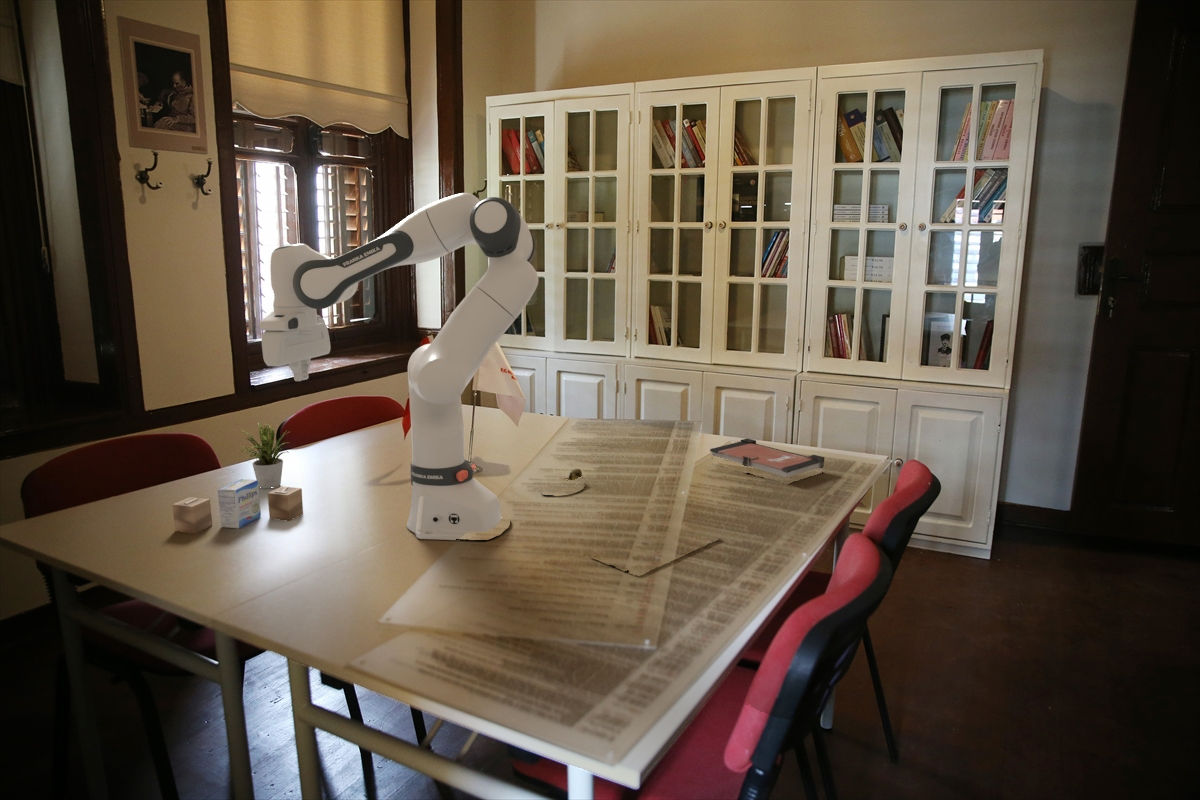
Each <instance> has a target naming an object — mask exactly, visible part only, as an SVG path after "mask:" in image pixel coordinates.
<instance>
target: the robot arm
mask: <svg viewBox="0 0 1200 800" xmlns="http://www.w3.org/2000/svg"><path fill="white" fill-rule="evenodd" d="M468 245H475V246H478V247H479V248H480V250H481V251H482V252H483V254H484V256H486V257H487V258H488V266H487V269H486V271H485V272H484V274H483V276H481V277H480V279H479V280H477V281H478V282H476V283H475V285H474V286H473V287H472V288H471V289H470V290H469V292H468V293H467V294H466V295H465V296H464V297H463V299H462V300H461V301H460V302H459V304H458V305H457V306H456V307H455V308H454V310H453V311H452V312H451V313H450V315H449V317H448V319H447V320H446V322H444V324H443V326H442V328H441V329H440V330H439V331H438V333H437V335H436V336H435V338H434V339H433V340H432V342H431V343H427V344H426V343H425V344H423V345H422V346H420V347H418V348H416V349H415V350H414V352H412V354H411V355H410V357H409V360H408V362H407V363H408V364H407V380H408V381H407V382H408V383H407V384H408V398H409V413H410V414H409V415H410V427H411V428H410V429H411V430H410V432H411V456H412V457H411V458H412V459H411V461H410V484H411V485H410V486H411V487H412V490H411V504H410V507H409V508H410V509H409V515H408V517H407V518H408V519H407V522H406V528H407V529H408V530H409V531H410V532H412V533H414V534H415V536H416V538H417V539H420V540H439V541H441V540H443V541H444V540H447V541H457V540H456V539H458V538H460V537H462V536H464V534H466V533H470V532H471V533H472V532H487V531H489V530H491V529H493V528H494V527H496V526H497V525H498V524H499V523H500V521H501V519H502V517H501V514H502V510H501V506H500V501H499V498H498V496H497V495H496V494H495V493H493V492H492V491H491V490H489V489H488V488H487V487H486V486H484V485H483V484H482V483H480V481H478V480H477V479H476V478H475V477H474V475H473V474H474V472H473V471H475V469H476V463H473V464H472V465H470V464H469V463H468V462H467V460H466V459H465V424H464V417H463V408H462V407H463V404H462V394H463V393H464V391H465V389H466V387H467V386H468V384H470V382H471V380H472V379H473V378H474V376H475V374H476V373H477V372H478V370H479V369H480V367H481V365H482V364H483V362H484V361H485V359H486V357H487V356H488V354H490V351H492V348H494V346H495V345H496V343H497V342H498V341H499V340H500V339H501V337H503V335H504V334H505V333H506V331H507V330H508V329H509V328H510V327H511V325H512V324H513V323H514V322H515V321H516V319H517V318H518V317H519V316H520V315H521V313H522V312H523V310H524V309H525V308H526V306H527V305H528V303H529V302H530V300H531V299H532V297H533V295H534V293H535V291H536V290H537V288H538V286H539V276H538V273H537V270H536V269H535V267H534V266H533V265H532V261H533V259H534V256H535V253H536V245H535V239H534V236H533V235H532V233H531V232H530V230H529V226H528V224H527V222H526V220H525V219H524V217H523V216H522V214H521V213H519V211H518V209H517V207H516V206H515V205H513V203H511V202H510V201H508V200H506V199H504V198H501V197H496V196H494V197H493V196H490V197H487V198H484V199H481V200H480V199H479V198H478V197H477V196H476V195H474V194H472V193H469V192H461V193H456V194H453V195H450V196H447V197H443V198H442V199H437V200H436V201H433V202H432V203H429V204H427V205H425V206H423V207H421V208H419V209H417V210H415V211H414V212H413V213H410V214H409V215H407V216H406V217H405V218H403V219H402V220H401V221H400V222H398V223H397V224H395V225H394V226H392V227H391V228H390V229H389V230H387V231H385V233H382V234H381V235H380V236H378V237H376V238H375V239H373V240H371V241H370V242H367V243H365V244H363V245H361V246H358V247H357V248H354V249H352V250H350V251H348V252H345V253H344V254H341V255H339V256H337V257H331V256H328V255H326V254H323V253H321V252H318V251H317V250H314V249H312V247H310V246H309V245H307V244H306V243H295V244H287V245H283V246H279V247H276V248H275V249H274V250H273V251H272V252H271V257H270V265H269V267H270V283H271V289H272V291H273V296H274V297H273V304H272V305H273V306H272V307H273V311H271V312H270V313H269V314H268V315H267V316H266V317H264V318H263V319H261V320H260V322H259V328H260V331H262V332H263V333H262V334H261V349H262V358H263V361H264V363H265V365H266V366H267V367H282V366H286V365H288V366H289V369H290V370H291V372H292V374H293V379H294V381H295V382H301V381H305V380H308V379H310V378H309V371H310V367H311V363H312V361H311V359H313V358H317V357H321V356H326V355H328V354H330V352H331V348H332V346H331V341H330V340H331V339H330V334H329V330H328V327H327V325H326V324H325V319H323V317H322V316H321V315H319V314H318V313H317V310H324V309H327V308H329V307H332V306H333V305H337V304H340V303H342V302H345V301H348V300H349V299H351V298H352V297H353V296H354V295H355V294H356V293H357V291H358V290H359V289H358V288H359V283H360V282H362V281H364V280H366V279H368V278H370V277H371V276H375V275H376V274H378V273H380V272H383V271H385V270H388V269H391V268H395V267H400V266H408V265H416V264H422V263H426V262H429V261H433V260H436V259H439V258H441V257H444V256H446V255H449V254H450V253H452V252H454V251H456V250H458V249H460V248H463V247H464V246H465V247H466V246H468Z"/></svg>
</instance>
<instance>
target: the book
mask: <svg viewBox="0 0 1200 800" xmlns="http://www.w3.org/2000/svg"><path fill="white" fill-rule="evenodd" d="M709 452H711V456H712V455H713V456H717V457H720V458H724V459H728V460H730V461H734V462H738V463H741V464H742V465H744V466H747V467H748V466H751V467H754V468H757V469H760V470H763V471H766V472H770V473H773V474H776V475H779V476H782V477H790V476H793V475H797V474H801V473H804V472H807V471H810V470H814V469H817V468H823V467H825V457H824V456H821V455H817V454H812V455H808V456H807V455H802V454H798V453H796V452H790V451H786V450H783V449H779V448H774V447H771V446H766V445H762V444H758V443H757V440H755V439H751V438H744V439H740V441H737V442H733V443H729V444H726V445H720V446H717V447H714V448H709Z"/></svg>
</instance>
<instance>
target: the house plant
mask: <svg viewBox="0 0 1200 800" xmlns="http://www.w3.org/2000/svg"><path fill="white" fill-rule="evenodd" d="M257 425H258V426H257V427H258V429H259V431H258V432H259V434H258V435H259V439H260V443H258V441H257V440H256V439H254V437H253V436H252V435H251V434H250V433H249V432H247V431H245V430H243V429H240V431H242V432H243V433H244V434H246V435H247V438H246V440H248V441H249V442H250V443H251V444H253V445H254V446H250V447H248V448H247V447H246V446H243V445H241V446H239V447H240V448H241V447H242V448H244V449H243V450H241V451H240V453H239V454H241V453H244V452H246V451H247V452H248V453H251V454H250V455H249V460H250V459H251V458H253V457H256V458H255V459H256V460H254V461H253V462H252V468H253V471H254V474H255V480H257V481H258V486H259V487H261V488H260V489H262V488H271V487H276V486H278V487H280V486H281V485H280V484H282V475H283V474H282V473H283V466H284V465H283V464H284V459H282V458H280V456H281V455H282V454H285V453H289V454H290V452H289V451H288V450H287V451H282V449H283V448H282V447H281V446H282V445H284V444H289V443H290V442H289V441H288V442H287V441H286V442H285V441H284V442H283V443H280V442H281V440H282V439H283V438H284V437H285V436H286V431H285V432H283V434H282V435H281V436H280V438H279V439H278V440H277V441H276V442H274V441H275V436H276V435H275V428H274V427H273V426H272V427H271V423H269V424H268V423H265V425H264V427H263V426H262V424H261V423H259V422H258V421H257ZM234 430H236V431H239V429H237V428H236V429H234ZM288 433H290V431H288V432H287V434H288ZM238 437H239V438H242V437H246V436H242V435H240V436H239V435H238ZM254 449H256V450H257V451H258V452H257V451H256V450H254ZM280 451H282V452H280ZM279 485H280V486H279ZM276 488H277V487H276ZM271 489H272V488H271Z"/></svg>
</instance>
